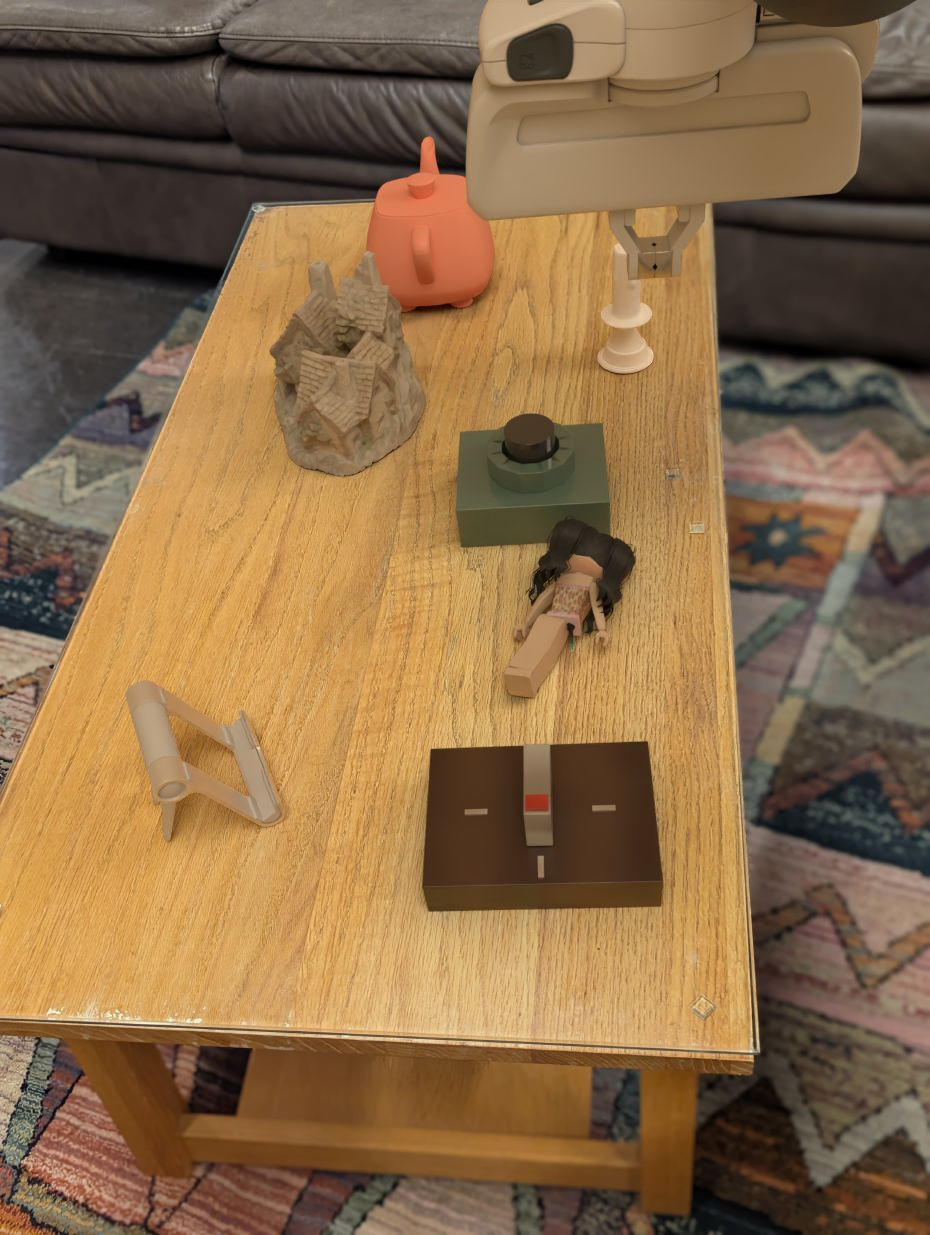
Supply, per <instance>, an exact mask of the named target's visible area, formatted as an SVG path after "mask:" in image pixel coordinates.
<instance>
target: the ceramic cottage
mask: <svg viewBox="0 0 930 1235" xmlns="http://www.w3.org/2000/svg"><path fill="white" fill-rule="evenodd" d="M307 274H308V275H307V276H308V277H307V278H308V284H309V290H310V292H309V294H308V295H307V296H306V298H305V299H304V301H303V302H302V304H300V305H299V306H298V307H297V308H296V309H295V310H294V311H293V313H292V316H291V318H290V319H289V321H288V324H287V325H286V326H285V329H284V331H283V332H282V334H280V335H279V337H278V339H277V340H276V341H275V342H274V343H273V344H272V345H271V346H270V348H269V354H270V356H271V357H272V358H273V359H274V364H275V368H273V374H274V377H275V378H277V385H276V387H275V389H274V390H275V392H274V393H275V394H274V399H273V400H274V408H275V411H276V412H275V413H276V415H277V418H278V421H279V424H280V427H281V428H280V430H281V431H282V434H283V438H284V442H285V448H286V450H287V456H288V457H289V458H290V459H291V461H292V462H293V463H294V464H295V465H297V466H299V467H303V468H304V469H308V470H313V471H316V469H317V470H319V471H322V472H324V473H325V474H328V473H329V474H331V475H333V476H336V477H337V476H339V477H342V478H344V477H345V476H352V475H357V474H358V473H359V472H363V471H365V470H366V469H367V468H366V467H370V466H372V465H373V464H372V463H376V462H377V461H378V462H379V461H381V459H383V458H384V457H385V456H386V455H388V454H389V453H391V452H392V451H393V450H396V449H397V448H398V447H402V446H403V445H404V443H405V442H406V441H408V439H410V437H411V436H412V435H413V433H415V430H416V428H417V427H418V422H419V420H421V419H422V416H423V413H424V410H425V407H424V406H425V404H426V394H425V392H424V391H423V388H422V383H421V381H420V380H419V378H418V376H417V374H416V372H415V369H414V362H413V357H412V351H411V346H410V345H409V344H408V343H407V342H406V341H405V338H404V337H405V334H404V331H403V327H402V326H403V325H402V320H401V314H402V311H401V310H402V307H401V306H400V302H399V301H397V300H396V299H395V298H393V296H392V294H391V293H390V290H389V285H382V283H381V277H380V275H379V272H378V270H377V268H376V263H375V254H374V253H372V252H370V251H366V250H365V252H364V253H363V254H362V258H361V261H360V262H359V263H357V264H356V266H355V269H354V274H353V276H352V277H349V276H345V275H342V276H340V283H339V285H338V286H339V287H338V292H337V290H336V286H335V284H334V280H333V276H332V272H331V270H330V267H329V264H328V263H327V262H326V261H325V260H322V259H314V260H313V261H311V262H310V263H309V266H308V268H307Z"/></svg>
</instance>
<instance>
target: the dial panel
mask: <svg viewBox="0 0 930 1235" xmlns="http://www.w3.org/2000/svg"><path fill="white" fill-rule="evenodd" d="M524 745H525V744H523V745H503V746H502V745H501V746H499V745H497V746H496V745H495V746H494V745H493V746H469V747H468V746H467V747H443V748H442V747H440V748H430V750H429V765H428V766H429V767H428V782H427V783H428V784H427V801H426V816H425V817H426V818H425V830H424V831H425V832H424V849H423V865H422V866H423V867H422V880H421V881H422V883H421V888H422V893H423V897H424V901H425V904H426V908H427V911H428V912H465V911H466V912H469V911H471V912H472V911H473V912H474V911H511V910H512V911H514V910H515V911H516V910H520V911H521V910H556V909H557V910H562V909H563V910H565V909H567V910H568V909H606V908H607V909H608V908H609V909H611V908H612V909H613V908H651V907H652V908H653V907H655V908H656V907H662V904H663V890H664V879H663V878H664V876H663V867H662V858H661V857H662V856H661V849H660V840H659V831H658V830H659V829H658V820H657V812H656V802H655V792H654V784H653V783H654V782H653V775H652V764H651V755H650V754H651V753H650V746H649V745H650V744H649V741H648V740H641V741H640V740H639V741H638V740H637V741H613V742H609V741H608V742H585V743H584V742H582V743H581V742H579V743H555V744H551V743H550V752H551V767H552V796H553V845H552V846H527V844H526V835H525V826H524V817H523V746H524Z"/></svg>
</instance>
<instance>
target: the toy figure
mask: <svg viewBox="0 0 930 1235" xmlns="http://www.w3.org/2000/svg"><path fill="white" fill-rule="evenodd" d="M568 516H571V515H568ZM568 516H566V518H565V519H564V520H563V521H560V522H558V523H557V524H556V525H555V528H554V529H553V530H552V531H553V532H552V531H551V533H552V535H551V533H550V535H551V539H550V543H549V546H548V547H549V548H548V547H546V550H545V554H543V555H542V556H540V557H539V559H538V562H537V564H538V566H539V567H537V568H536V569H535V570H534V571H533V572H532V574H531V575H530V579H529V580H530V581H529V588H528V589H527V590H526V591H525V593H524V595H525V596H528V599H529V600H530V606H531V608H530V609H529V611H528V613H527V614H526V616H525V618H524V619H523V623H522V622H521V623H518V624H517V625H516V626H515V627H514V629H513V633H512V634H513V635H512V636H513V638H514V639H515V640H517V641H518V642H521V641H522V638H524V640H525V641H524V642H523V643H522V645H521V646H520V647H519V648H518V650H517V651H516V652H515V654H514V655H513V657H512V658H511V659H510V661H509V662H508V666H507V667H506V668H504V671H503V673H502V677H503V680H504V683H505V686H506V689H507V693H508V694H509V695H511V696H517V697H526V698H532V699H534V698H535V697H536V696H537V692H538V690H539V688H540V687H541V685H543V684H542V683H543V682H545V680H546V678H547V677H548V675H549V674H550V673H551V671H552V670H553V668H554V666H555V664H556V663H557V661H558V659H559V657H560V655H561V652H562V651H563V648H564V646H565V644H566V641H567V639H568V636H569V644H570V652H571V653H573V651H574V636H577V637H578V636H579V637H581V636H582V632H583V633H584V634H591V633H593V632H596V631H598V632H596V633H595V637H594V642H595V645H596V647H597V648H599V647H600V644H601V641H602V642H603V643H602V646H603V648H604V650H607V649H608V648H609V647H610V646H611V645H610V644H611V637H610V635H609V633H608V632H607V631H606V630H607V629H606V628H607V625H606V621H608V619H610V617H611V616H612V615H613V612H614V604H617V603H619V602H620V601H621V599H622V596H623V594H622V589H623V588H624V587H623V585H624V584H625V583H626V582H627V580H629V579H630V576H631V574H632V572H633V569H634V566H635V564H636V561H637V560H636V556H635V553H636V546H635V545H634V544H632V543H627V542H625V541H624V540H623V539H620V538H618V537H613V536H612V535H611V534H610V535H608V534H605V533H601V534H600V533H599V532H598V530H596V529H595V528H593V527H591V526H588V524H587V523H584V522H583V521H579V520H575V519H567V517H568ZM571 517H572V516H571ZM573 518H574V517H573ZM566 519H567V520H566ZM550 535H549V537H550ZM549 537H548V539H549ZM548 539H547V542H548ZM631 546H633V547H634V548H633V549H632V548H631ZM532 577H533V579H532ZM626 578H627V579H626ZM624 580H625V581H624ZM552 581H553V582H552ZM623 581H624V582H623ZM531 585H532V588H531ZM548 585H549V586H548ZM547 586H548V587H547ZM527 593H528V595H527ZM534 594H536V596H534V597H533V599H532V596H533V595H534ZM550 605H551V609H548V611H547V612H546V613H543V612H544V610H546V608H547V607H548V606H550ZM591 609H592V610H591ZM590 610H591V612H589V611H590ZM607 616H608V617H607ZM606 617H607V618H606ZM584 622H585V624H586V631H582V630H585V626H584ZM594 623H595V624H596V628H594V625H595V624H594ZM530 626H531V628H530Z"/></svg>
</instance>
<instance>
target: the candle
mask: <svg viewBox="0 0 930 1235" xmlns="http://www.w3.org/2000/svg"><path fill="white" fill-rule="evenodd" d="M611 262H612V264H611V265H612V266H611V267H612V269H611V270H612V271H611V274H612V276H611V277H612V278H611V279H612V282H611V285H612V286H611V288H612V289H611V292H612V293H611V296H612V297H611V298H612V299H611V303H608V304H607V305H606V306H604V307H603V308H602V310H601V311H600V313H599V314H600V318H601V321H602V322H603V323H604V324H606V325H607V326H609V327H611V328H615V329H614V331H613V332H612V335H611V336H610V337H609V338H607V340H606V341H605V345H604V346H603V347H601V348H600V350H599V351H598V353H597V354H596V360H597V363H598V364H599V366H601V367H602V368H603V369H604V370H606V371H608V372H611V373H615V374H635V373H637V372H641V371H643V370H645V369H647V368H648V367H650V365H651V364H652V363H653V361H654V358H655V354H654V351H653V350H652V348H650V346H649V345H648V344H647V341H646V339H645V338H644V337H643V336H642V335H641V334H640V332H639V330H638V329H637V328H638V327H641V326H644V325H646V324H647V323H648V322H649V321H650V320H651V319H652V316H653V311H652V309H651V307H650V306H649V305H648V304H645V303H644V302H641V299H642V297H641V294H642V280H643V279H640V280H628V274H627V254H626V252H625V251H624V249H623V248H622V246H621V245H620V243H619V242H617V243H616V244H615V245H614V246H613V249H612V261H611Z"/></svg>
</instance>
